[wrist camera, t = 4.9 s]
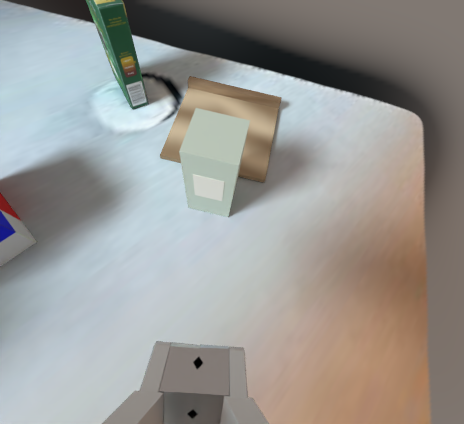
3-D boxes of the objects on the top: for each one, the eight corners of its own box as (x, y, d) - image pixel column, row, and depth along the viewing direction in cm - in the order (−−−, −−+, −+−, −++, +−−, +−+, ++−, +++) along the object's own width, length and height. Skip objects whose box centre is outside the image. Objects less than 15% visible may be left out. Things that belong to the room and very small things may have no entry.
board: (264, 182, 33) (267, 175, 31) (160, 158, 33) (158, 149, 31) (278, 107, 38) (281, 97, 37) (190, 86, 38) (189, 76, 37)
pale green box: (228, 217, 30) (238, 166, 20) (188, 208, 30) (179, 151, 20) (236, 183, 32) (249, 120, 22) (199, 174, 32) (195, 107, 22)
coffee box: (151, 106, 36) (124, -1, 24) (132, 112, 35) (94, 5, 24) (132, 70, 39) (98, -42, 27) (113, 75, 38) (70, -38, 26)
